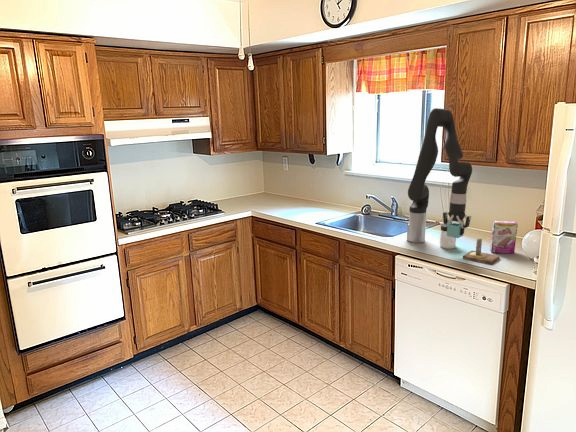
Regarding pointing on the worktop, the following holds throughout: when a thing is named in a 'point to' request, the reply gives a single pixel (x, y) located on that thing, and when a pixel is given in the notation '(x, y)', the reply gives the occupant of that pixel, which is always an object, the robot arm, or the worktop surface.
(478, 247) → the post stand
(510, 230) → the candy bar box
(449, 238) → the jar
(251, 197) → the worktop surface
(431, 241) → the worktop surface
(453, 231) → the collar
